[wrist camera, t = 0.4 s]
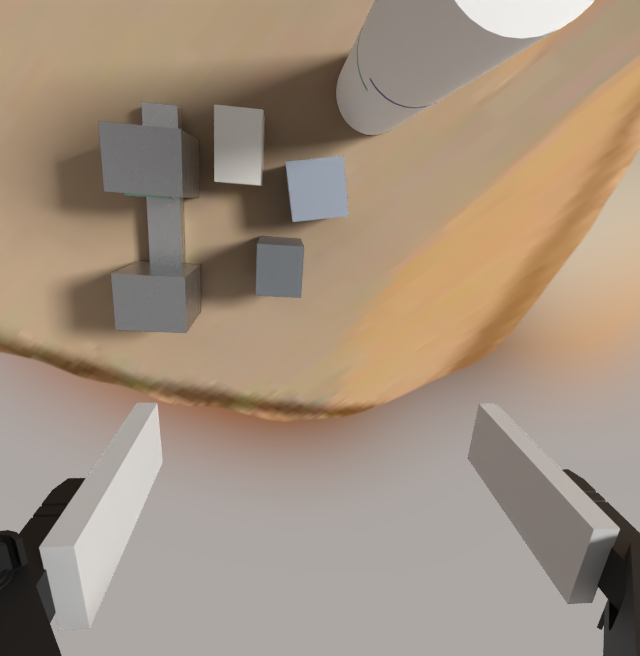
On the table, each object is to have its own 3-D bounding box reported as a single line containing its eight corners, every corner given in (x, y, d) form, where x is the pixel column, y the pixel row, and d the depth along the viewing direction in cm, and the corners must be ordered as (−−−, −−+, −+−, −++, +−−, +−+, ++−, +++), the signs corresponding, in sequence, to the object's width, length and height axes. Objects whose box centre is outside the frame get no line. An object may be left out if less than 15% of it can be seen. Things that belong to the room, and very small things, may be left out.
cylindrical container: (373, 151, 39) (517, 84, 15) (320, 94, 37) (389, -87, 13) (426, 91, 38) (671, -83, 14) (374, 28, 36) (556, -298, 12)
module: (261, 235, 40) (257, 243, 34) (300, 238, 41) (304, 246, 34) (259, 281, 42) (255, 297, 35) (297, 283, 42) (300, 299, 36)
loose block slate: (285, 165, 39) (285, 161, 34) (336, 160, 39) (343, 155, 34) (291, 219, 40) (292, 222, 36) (340, 213, 41) (348, 216, 36)
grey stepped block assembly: (129, 103, 36) (94, 83, 29) (198, 110, 36) (180, 92, 30) (142, 317, 42) (116, 340, 35) (201, 320, 43) (186, 343, 36)
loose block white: (221, 113, 37) (213, 104, 33) (264, 118, 37) (262, 109, 34) (220, 182, 39) (214, 181, 35) (262, 186, 39) (260, 185, 35)
